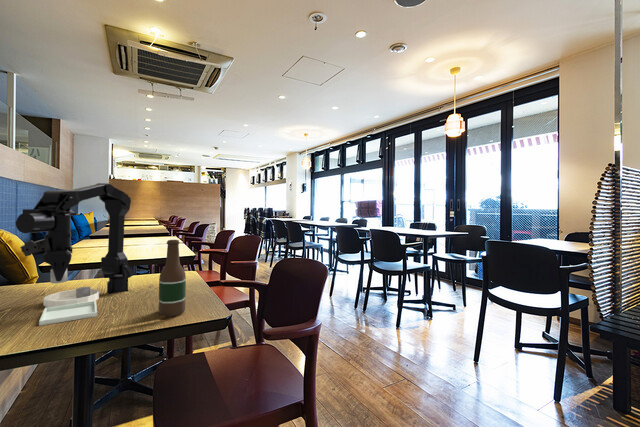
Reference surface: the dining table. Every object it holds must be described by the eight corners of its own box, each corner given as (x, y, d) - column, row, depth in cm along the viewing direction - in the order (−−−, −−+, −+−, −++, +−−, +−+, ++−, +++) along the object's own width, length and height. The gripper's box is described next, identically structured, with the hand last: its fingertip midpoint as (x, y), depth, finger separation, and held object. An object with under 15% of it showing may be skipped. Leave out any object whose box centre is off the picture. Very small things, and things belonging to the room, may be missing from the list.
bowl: (98, 294, 117) (98, 287, 117) (99, 304, 105) (99, 296, 105) (46, 301, 107) (46, 292, 107) (41, 313, 96) (41, 303, 96)
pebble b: (67, 279, 97) (67, 267, 97) (67, 282, 94) (67, 269, 94) (51, 281, 94) (51, 268, 94) (50, 284, 91) (49, 271, 91)
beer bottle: (158, 319, 92) (159, 241, 92) (158, 311, 99) (159, 239, 99) (186, 315, 96) (187, 240, 95) (184, 308, 102) (185, 238, 102)
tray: (96, 306, 103) (96, 300, 103) (97, 318, 92) (97, 312, 92) (44, 314, 95) (44, 307, 95) (39, 328, 84) (39, 321, 84)
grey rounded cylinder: (90, 297, 111) (90, 286, 111) (90, 299, 108) (90, 288, 108) (76, 298, 108) (76, 287, 108) (75, 301, 105) (75, 290, 105)
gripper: (27, 229, 96) (27, 277, 96) (17, 234, 81) (18, 290, 82) (72, 228, 103) (72, 273, 103) (70, 232, 88) (71, 284, 89)
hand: (59, 279), depth 94 cm, fingers closed on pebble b, 4 cm apart
